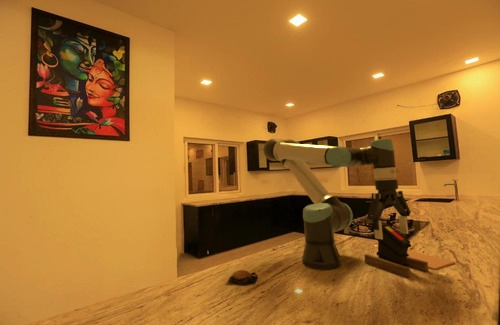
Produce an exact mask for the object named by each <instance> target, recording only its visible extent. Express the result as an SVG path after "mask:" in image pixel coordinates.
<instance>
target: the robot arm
mask: <svg viewBox="0 0 500 325" xmlns="http://www.w3.org/2000/svg"><path fill="white" fill-rule="evenodd" d="M262 152H263V155H264V156H265V158H267V160H269V161H271V162H273V161H274V162H280V163H281V164H282V166H283V167H284V168H286V169H289V170H290V172H291V173H292V175H293V176H294V177H295V180H296V181H297V182H298V183H299V185H300V186H301V188H302V189H303V190H304V192H305V193H306V195H307V196H308V197H309V199H310V200H311V202H312V203H313V204H308V205H306V206H305V207H304V208H303V209H302V219H303V231H304V241H305V243H304V244H305V245H304V248H303V253H302V256H301V257H302V259H301V262H302V264H303V266H305V267H307V268H308V269H309V268H310V269H313V270H320V271H321V270H323V271H325V270H334V269H337V268H339V267H341V265H342V259H341V256H340V253H339V250H338V248H337V246H336V242H335V233H336V232H339V231H343V230H345V229H346V228H348V227H349V226H350V225H351V224H352V222H353V217H354V215H353V211H352V209H351V207H350V206H349V205H348V204H347V203H344V202H341V201H340V200H339V199H338V197H337V196H336V195H333V194H330V192H329V191H328V189H326V186H324V185H323V183H322V182H321V181H320V180H319V178H318V177H317V175H316V174H315V173H314V172H313V170H312V169H311V168H310V166H308V164H307V163H313V164H320V165H327V166H328V165H329V166H332V167H335V168H342V167H345V168H355V167H364V166H372V168H373V175H374V176H373V178H374V180H375V181H374V186H375V187H374V188H375V190H376V191H377V193H374V192H373V193H371V200H370V205H369V208H368V213H367V220H369V221H372V228H373V229H372V230H374V239H376V240H377V239H381V240H382V239H383V235H382V226H381V225H382V220H380V219H381V217H382V214H383V213H384V210H385V208H386V207H387V206H388V205H392V206H393V208H394V209H395V210H396V211H397V213H398V214H399V215H398V225H399V226H398V227H399V233H400V234H405V235H408V234H409V227H408V217H410V215H411V212H412V211H411V209H410V207H409V205H408V203H407V201H406V198H405V196H404V192H403V191H402V190H398V189H399V184H398V180H397V179H396V178H397V168H396V158H395V148H394V143H393V140H392V139H390V138H378V139H374V140H371V142H370V145H369V146H364V147H358V148H357V147H356V148H355V147H347V146H346V147H345V146H341V145H340V146H338V145H337V146H332V145H317V144H304V143H303V144H301V143H299V142H297V141H295V140H292V139H283V138H282V139H281V138H271V139H268V140H267V141H266V142H265V143H264V144H263V149H262Z"/></svg>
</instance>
